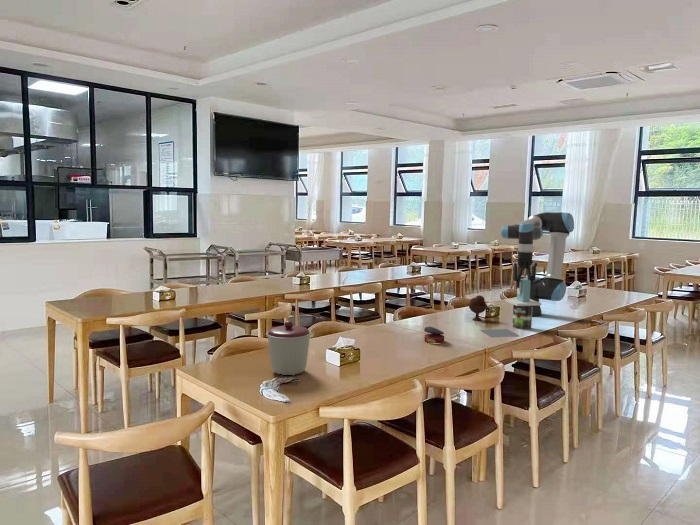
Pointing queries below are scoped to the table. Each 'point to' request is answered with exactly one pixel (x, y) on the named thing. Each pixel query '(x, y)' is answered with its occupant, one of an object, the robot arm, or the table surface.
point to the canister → (288, 348)
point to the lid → (524, 295)
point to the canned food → (433, 335)
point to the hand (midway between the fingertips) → (523, 293)
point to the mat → (499, 333)
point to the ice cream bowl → (477, 306)
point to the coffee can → (522, 317)
